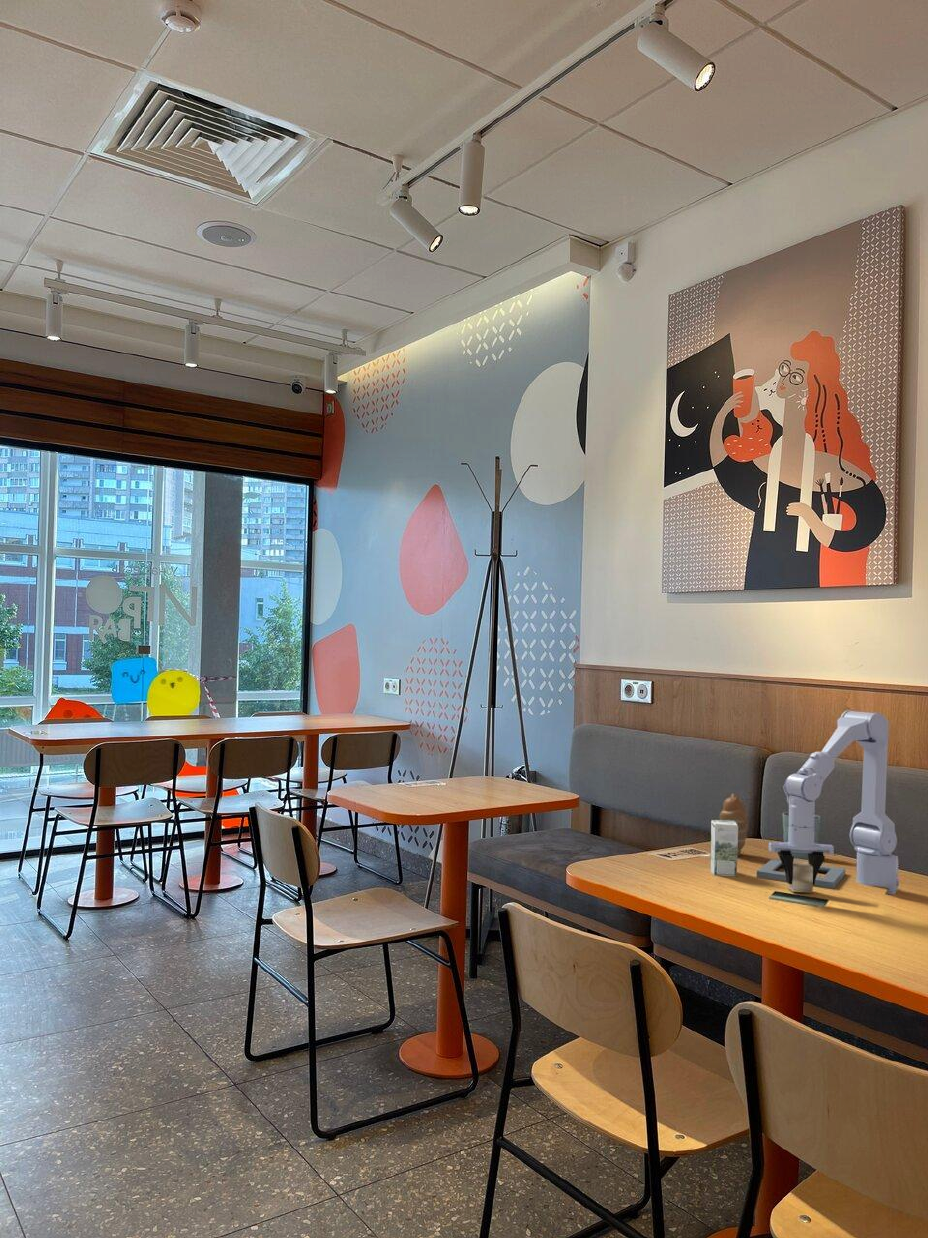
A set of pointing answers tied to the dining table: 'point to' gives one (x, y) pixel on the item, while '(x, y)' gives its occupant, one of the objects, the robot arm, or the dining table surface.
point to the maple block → (801, 877)
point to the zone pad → (798, 899)
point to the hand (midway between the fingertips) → (800, 883)
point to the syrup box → (724, 848)
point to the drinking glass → (786, 829)
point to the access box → (832, 872)
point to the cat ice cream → (736, 818)
